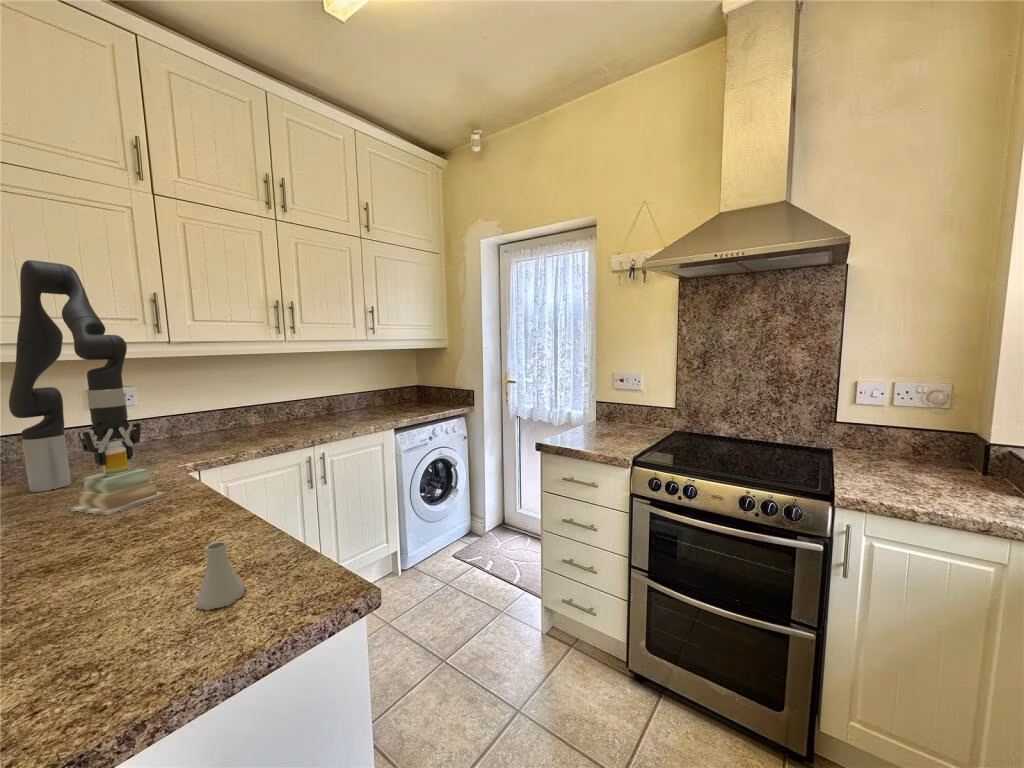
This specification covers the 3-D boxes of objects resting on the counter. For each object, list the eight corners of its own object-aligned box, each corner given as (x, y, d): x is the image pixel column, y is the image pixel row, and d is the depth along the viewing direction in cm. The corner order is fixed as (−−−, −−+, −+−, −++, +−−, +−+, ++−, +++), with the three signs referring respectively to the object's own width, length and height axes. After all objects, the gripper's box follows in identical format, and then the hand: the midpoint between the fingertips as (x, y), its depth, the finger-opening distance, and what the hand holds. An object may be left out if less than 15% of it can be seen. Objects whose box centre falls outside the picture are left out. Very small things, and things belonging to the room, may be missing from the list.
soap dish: (69, 511, 116) (65, 480, 115) (131, 492, 130) (128, 464, 129) (107, 515, 112) (103, 483, 111) (166, 496, 126) (163, 467, 125)
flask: (212, 588, 77) (207, 536, 76) (253, 585, 77) (249, 534, 76) (185, 613, 69) (179, 557, 68) (230, 610, 70) (225, 554, 69)
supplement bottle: (133, 471, 122) (129, 439, 121) (110, 477, 117) (106, 443, 116) (122, 469, 124) (117, 438, 123) (99, 475, 119) (94, 442, 118)
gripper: (127, 401, 126) (134, 454, 128) (66, 408, 112) (74, 468, 114) (145, 401, 124) (151, 456, 126) (85, 409, 110) (93, 470, 112)
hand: (115, 461), depth 120 cm, fingers open, 5 cm apart
